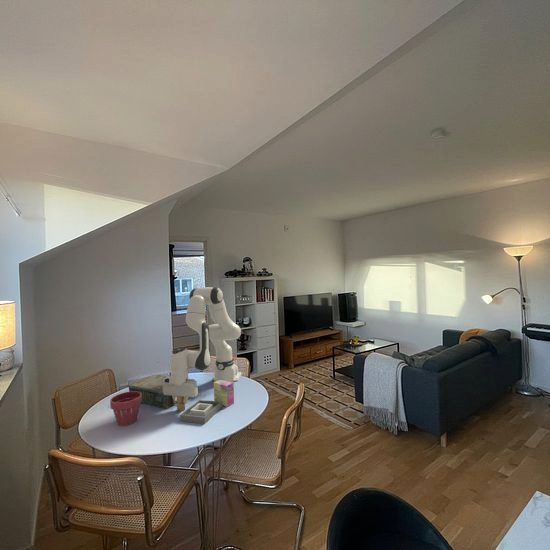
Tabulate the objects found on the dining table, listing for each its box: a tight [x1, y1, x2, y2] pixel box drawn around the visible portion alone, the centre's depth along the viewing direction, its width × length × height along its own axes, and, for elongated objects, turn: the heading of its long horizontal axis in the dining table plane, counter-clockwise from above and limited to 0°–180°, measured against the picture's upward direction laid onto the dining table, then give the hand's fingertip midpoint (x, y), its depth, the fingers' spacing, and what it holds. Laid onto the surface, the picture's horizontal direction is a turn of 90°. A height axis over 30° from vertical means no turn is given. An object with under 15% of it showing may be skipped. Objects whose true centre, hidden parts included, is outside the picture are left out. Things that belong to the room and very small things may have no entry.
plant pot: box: [109, 391, 142, 427], centre depth 147 cm, size 14×14×13 cm
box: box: [213, 380, 235, 408], centre depth 164 cm, size 10×6×12 cm, turn 56°
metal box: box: [127, 374, 177, 410], centre depth 175 cm, size 21×32×10 cm, turn 63°
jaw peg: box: [176, 396, 186, 412], centre depth 158 cm, size 4×4×8 cm
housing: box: [179, 399, 223, 425], centre depth 152 cm, size 18×14×4 cm
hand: (180, 403), depth 158 cm, fingers closed on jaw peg, 4 cm apart
